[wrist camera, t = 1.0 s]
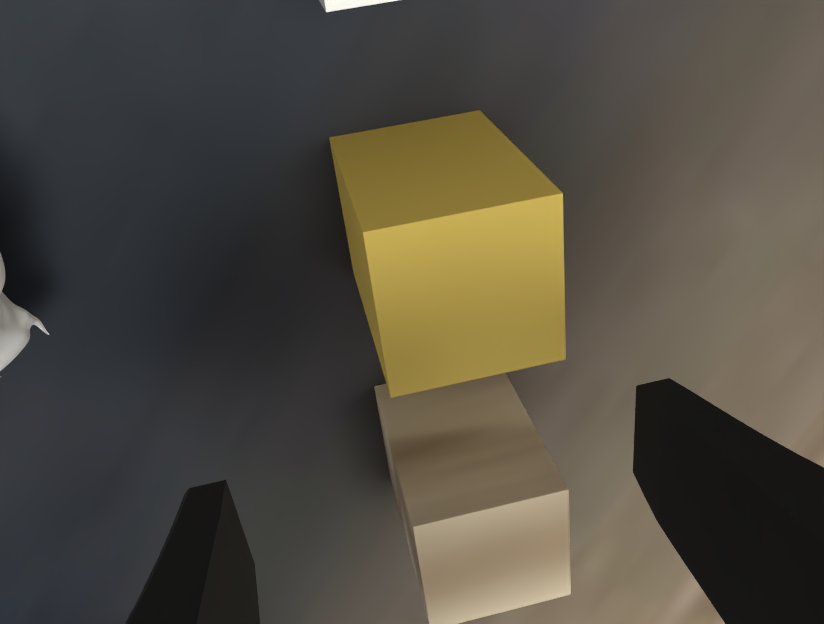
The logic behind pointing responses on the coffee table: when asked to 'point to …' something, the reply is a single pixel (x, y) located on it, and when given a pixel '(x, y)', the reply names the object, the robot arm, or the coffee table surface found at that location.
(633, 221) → the coffee table surface
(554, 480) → the birch bar
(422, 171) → the mustard bar
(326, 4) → the off-white bar
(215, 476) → the coffee table surface
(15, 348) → the elephant figurine
